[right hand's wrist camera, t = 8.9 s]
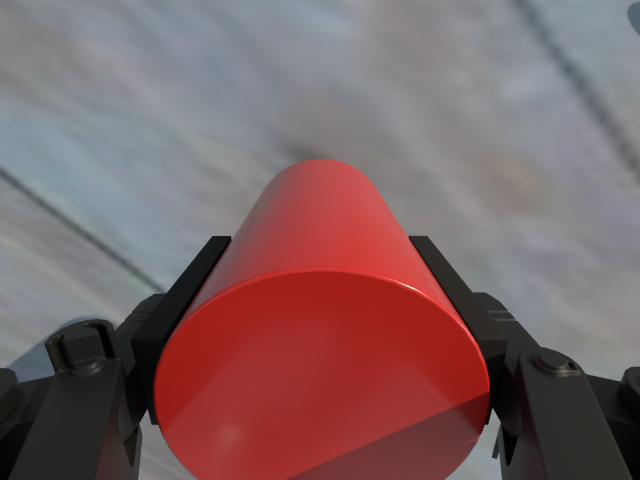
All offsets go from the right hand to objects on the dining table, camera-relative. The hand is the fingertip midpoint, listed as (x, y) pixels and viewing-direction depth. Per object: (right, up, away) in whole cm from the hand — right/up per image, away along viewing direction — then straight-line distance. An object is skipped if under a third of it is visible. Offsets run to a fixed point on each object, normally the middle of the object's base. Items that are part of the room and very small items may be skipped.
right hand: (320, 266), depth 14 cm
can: (0, +2, +5) cm, 5 cm away
